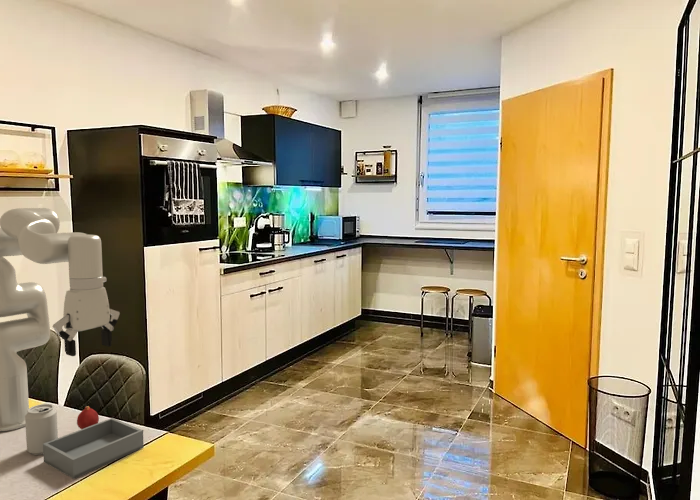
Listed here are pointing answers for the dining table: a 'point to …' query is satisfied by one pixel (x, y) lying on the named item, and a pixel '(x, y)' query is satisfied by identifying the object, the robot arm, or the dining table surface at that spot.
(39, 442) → the can
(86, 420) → the onion
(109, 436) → the tote
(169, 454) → the dining table surface
